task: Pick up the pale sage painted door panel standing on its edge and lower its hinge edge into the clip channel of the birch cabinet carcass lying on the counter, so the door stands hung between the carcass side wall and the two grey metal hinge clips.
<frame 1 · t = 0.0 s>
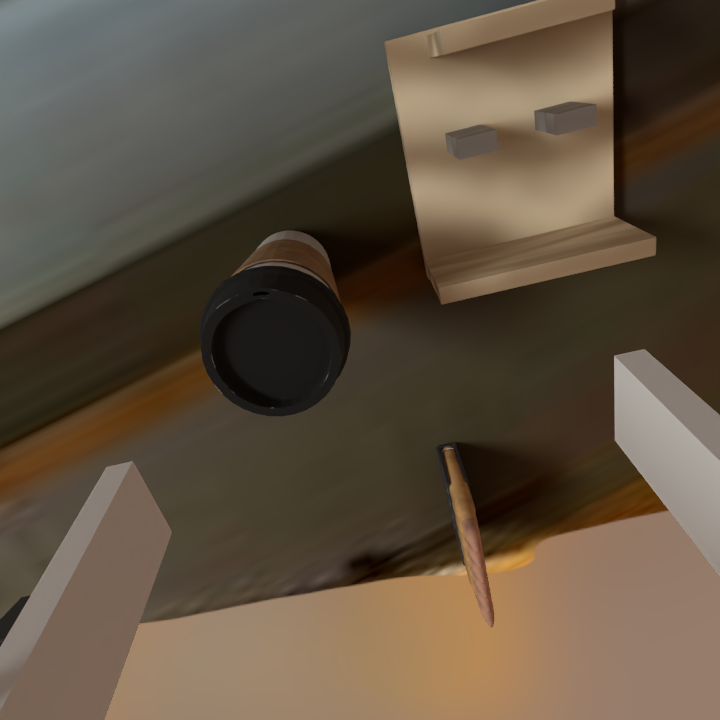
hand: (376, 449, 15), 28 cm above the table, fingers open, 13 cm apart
ammunition clip: (454, 485, 52), on the table
coffee cup: (292, 267, 41), on the table
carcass: (504, 145, 37), on the table
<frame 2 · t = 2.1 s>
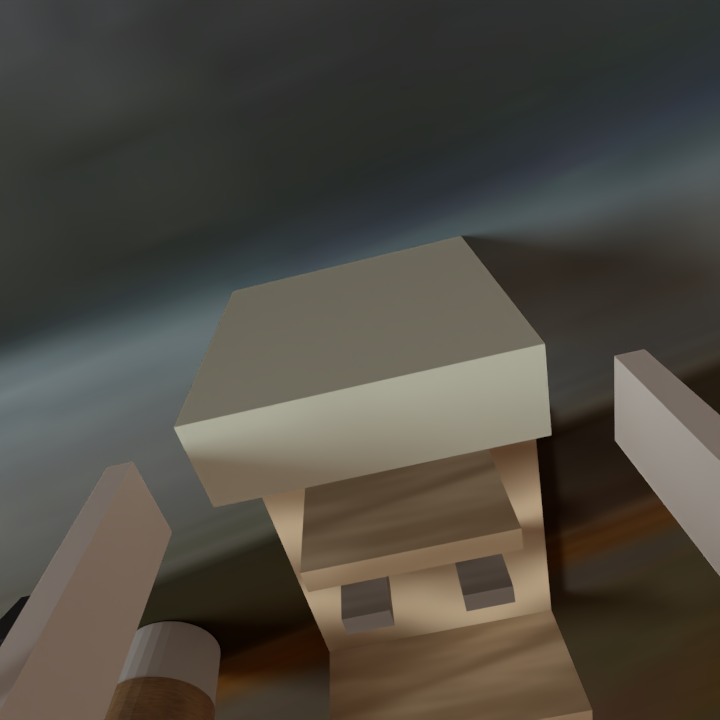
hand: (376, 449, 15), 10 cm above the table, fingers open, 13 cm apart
door: (353, 295, 23), on the table
coffee cup: (175, 646, 35), on the table
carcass: (417, 545, 31), on the table
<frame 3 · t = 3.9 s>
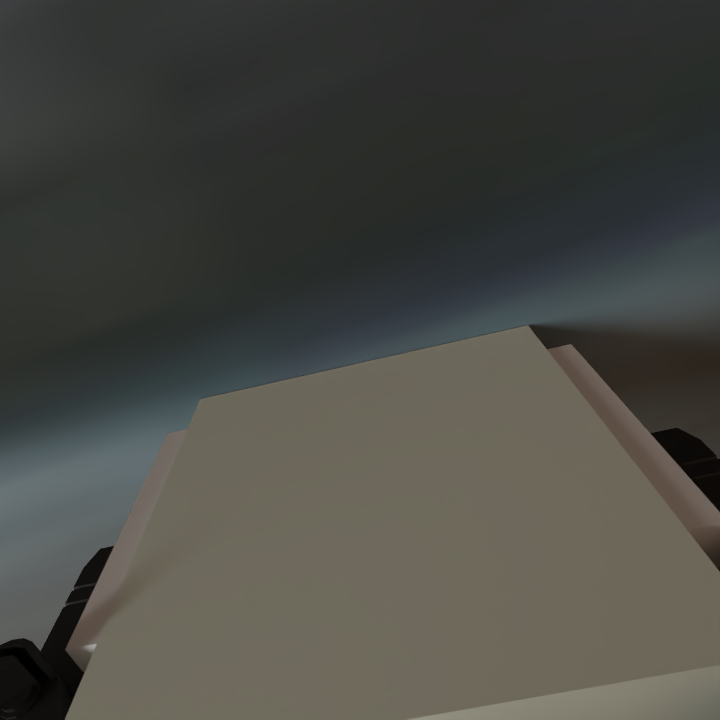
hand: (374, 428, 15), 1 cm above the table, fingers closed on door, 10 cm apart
door: (371, 404, 17), on the table, touching gripper
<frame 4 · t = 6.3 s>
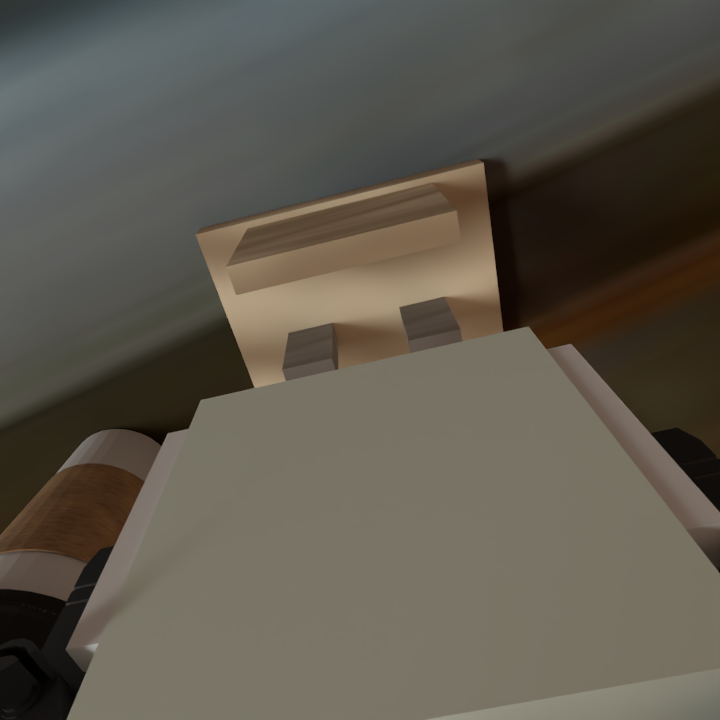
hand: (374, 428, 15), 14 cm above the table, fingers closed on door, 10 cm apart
door: (371, 405, 17), point 13 cm above the table, touching gripper
coffee cup: (126, 464, 34), on the table
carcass: (372, 336, 30), on the table
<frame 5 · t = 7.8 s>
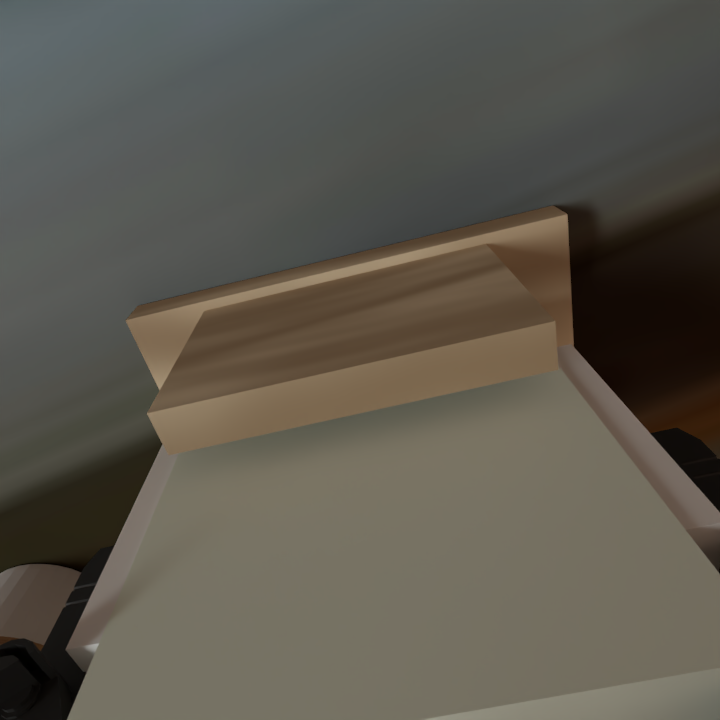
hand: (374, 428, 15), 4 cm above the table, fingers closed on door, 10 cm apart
door: (371, 405, 17), point 3 cm above the table, touching gripper
coffee cup: (55, 603, 25), on the table
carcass: (389, 447, 21), on the table
when the fingers open (4 cm above the table, at t = 8.8 s): door drops 1 cm, resting on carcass.
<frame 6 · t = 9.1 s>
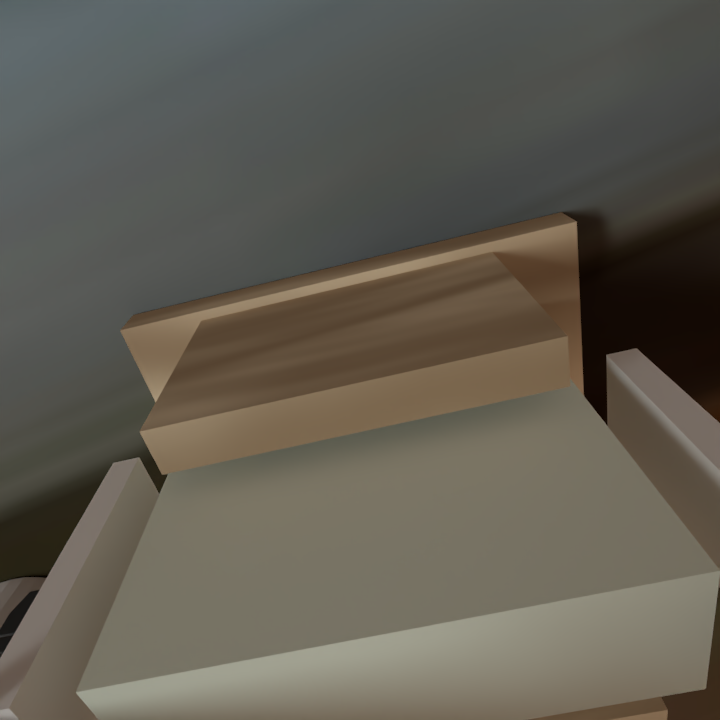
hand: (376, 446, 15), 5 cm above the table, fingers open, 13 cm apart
door: (369, 383, 18), point 1 cm above the table, touching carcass
coffee cup: (50, 617, 24), on the table
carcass: (391, 459, 21), on the table
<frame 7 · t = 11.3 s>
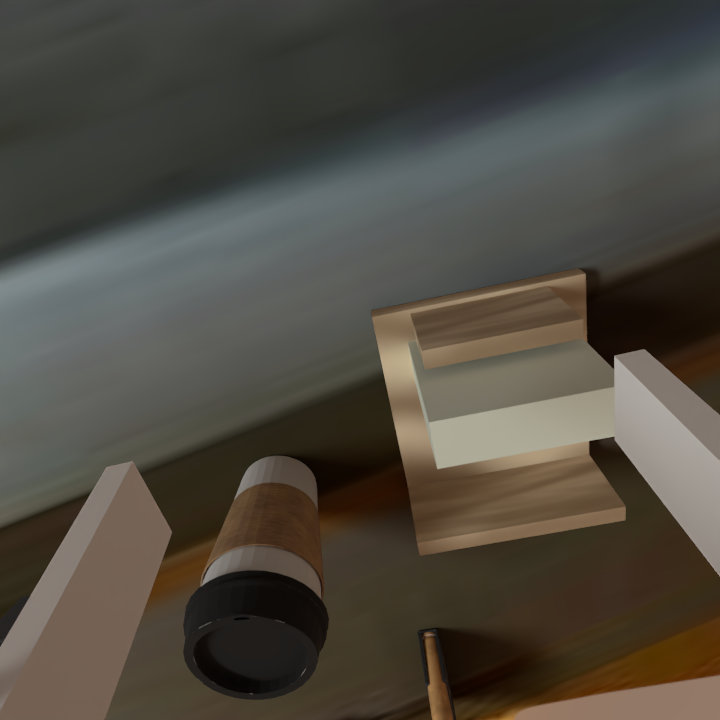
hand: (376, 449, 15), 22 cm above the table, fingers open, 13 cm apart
door: (483, 346, 36), point 1 cm above the table, touching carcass
ammunition clip: (435, 662, 53), on the table
coffee cup: (280, 483, 43), on the table
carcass: (485, 391, 39), on the table
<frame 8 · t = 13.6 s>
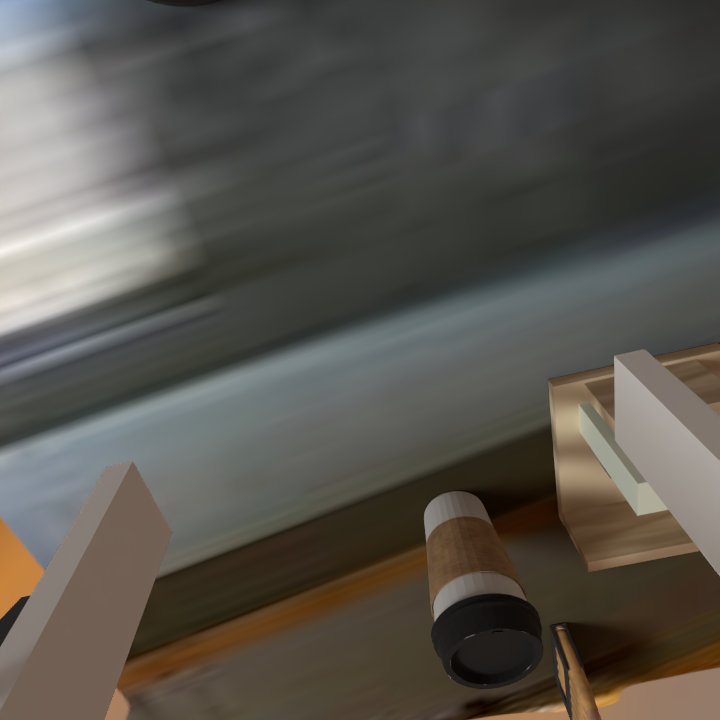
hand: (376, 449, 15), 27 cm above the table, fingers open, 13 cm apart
door: (638, 405, 45), point 1 cm above the table, touching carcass
ammunition clip: (559, 649, 63), on the table
coffee cup: (453, 512, 52), on the table
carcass: (630, 436, 48), on the table
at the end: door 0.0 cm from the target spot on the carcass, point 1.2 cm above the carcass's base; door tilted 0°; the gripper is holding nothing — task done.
